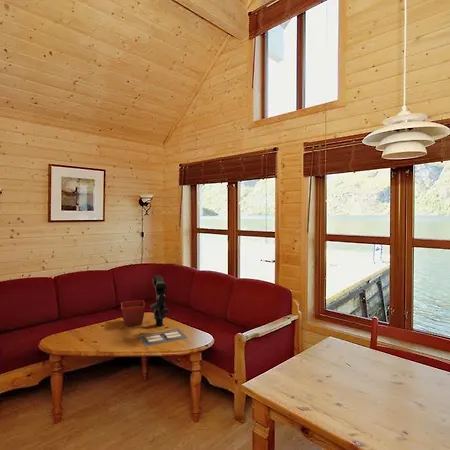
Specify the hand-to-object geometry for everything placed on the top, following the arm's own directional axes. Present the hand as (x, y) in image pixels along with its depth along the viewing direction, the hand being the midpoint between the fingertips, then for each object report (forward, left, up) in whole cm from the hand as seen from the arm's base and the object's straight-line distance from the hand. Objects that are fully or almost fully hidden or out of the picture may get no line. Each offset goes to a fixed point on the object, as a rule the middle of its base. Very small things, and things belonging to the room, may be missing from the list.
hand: (161, 319), depth 249 cm
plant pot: (-36, -14, -12) cm, 41 cm away
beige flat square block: (+9, +6, -11) cm, 16 cm away
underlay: (+6, -1, -12) cm, 13 cm away
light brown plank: (0, -1, -12) cm, 12 cm away
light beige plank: (+9, -8, -11) cm, 17 cm away
